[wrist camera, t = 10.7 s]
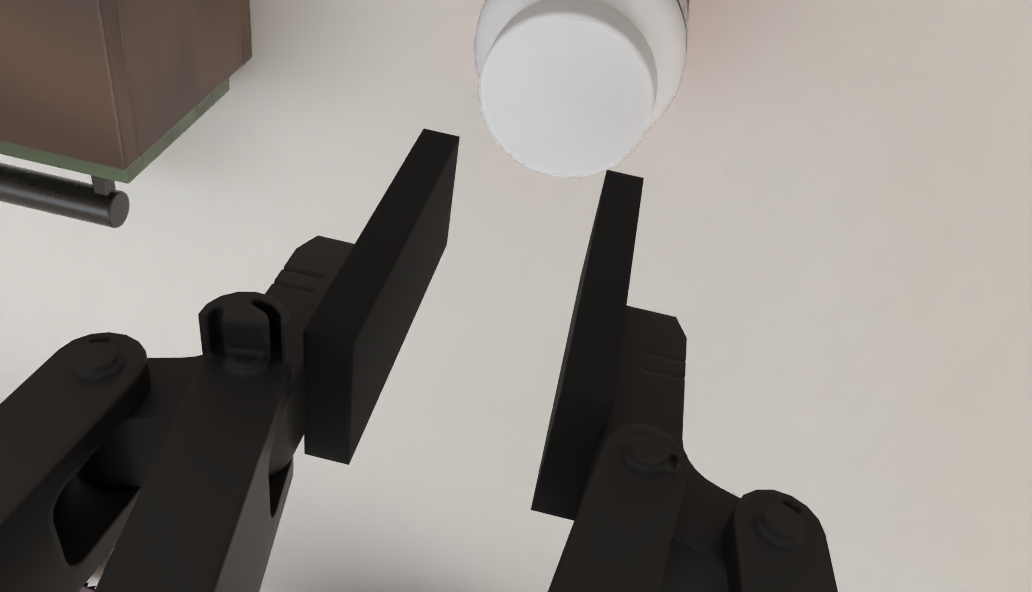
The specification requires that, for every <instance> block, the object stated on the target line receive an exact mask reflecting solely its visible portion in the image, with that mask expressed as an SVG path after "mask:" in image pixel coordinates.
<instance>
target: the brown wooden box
mask: <svg viewBox="0 0 1032 592" xmlns="http://www.w3.org/2000/svg"><path fill="white" fill-rule="evenodd" d="M251 57H252V54H251V33H250V11H249V0H0V142H5V143H9V144H13V145H18V146H22V147H26V148H30V149H35V150H39V151H43V152H48V153H52V154H56V155H61V156H65V157H69V158H74V159H78V160H82V161H86V162H91V163H95V164H99V165H104V166H108V167H112V168H117V169H121V170H126V169H127V168H129V167H130V166H131V165H132V164H133V163H134V162H135V161H136V160H137V159H138V157H141V156H142V155H143V154H145V153H146V152H147V151H148V150H149V149H150V148H151V147H152V146H153V145H155V144H156V143H157V142H158V141H159V140H160V139H161V138H162V137H163V136H164V135H166V134H167V133H168V132H169V131H170V130H171V129H172V128H173V127H174V126H176V125H177V124H178V123H179V122H180V121H181V120H182V119H183V118H184V117H185V116H187V115H188V114H189V113H190V112H191V111H192V110H193V109H194V108H195V107H197V106H198V105H199V104H200V103H201V102H202V101H203V100H204V99H205V98H207V97H208V96H209V95H210V94H211V93H212V92H213V91H214V90H215V89H216V88H218V87H219V86H220V85H221V84H222V83H223V82H224V81H225V80H226V79H228V78H229V77H230V76H231V75H232V74H233V73H234V72H235V71H236V70H238V69H239V68H240V67H241V66H242V65H243V64H244V63H246V62H247V61H248V60H249V59H250V58H251Z"/></svg>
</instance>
